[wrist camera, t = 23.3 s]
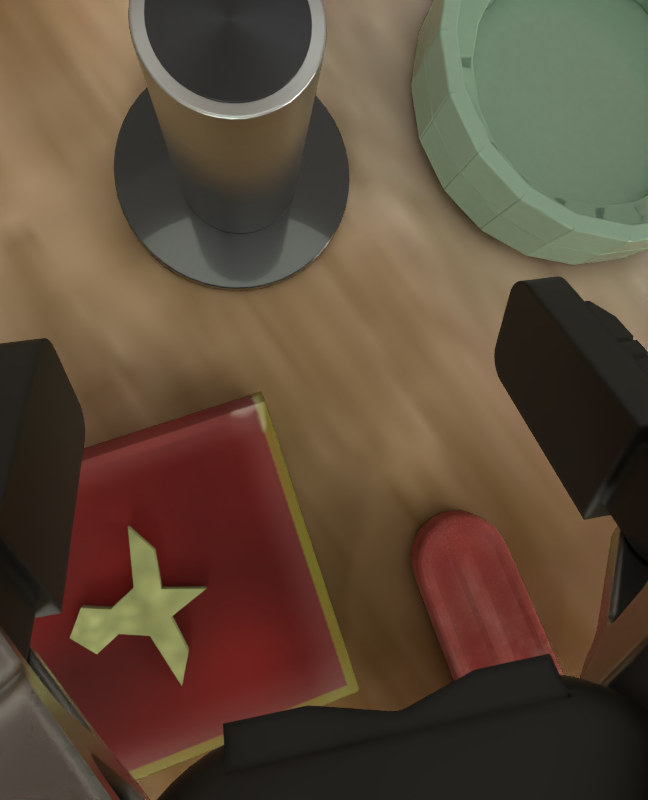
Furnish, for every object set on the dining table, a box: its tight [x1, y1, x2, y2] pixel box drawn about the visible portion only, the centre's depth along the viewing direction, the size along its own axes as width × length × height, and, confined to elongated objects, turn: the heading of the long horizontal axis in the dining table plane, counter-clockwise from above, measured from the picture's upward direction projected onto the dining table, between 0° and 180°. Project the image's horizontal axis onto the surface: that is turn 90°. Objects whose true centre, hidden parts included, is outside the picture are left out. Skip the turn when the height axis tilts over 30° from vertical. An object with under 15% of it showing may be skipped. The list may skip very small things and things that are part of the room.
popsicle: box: [411, 510, 563, 681], centre depth 26 cm, size 4×2×15 cm
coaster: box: [114, 88, 349, 291], centre depth 25 cm, size 10×10×1 cm
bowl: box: [411, 0, 648, 265], centre depth 25 cm, size 15×15×4 cm
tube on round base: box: [128, 0, 327, 233], centre depth 19 cm, size 11×5×10 cm, turn 8°
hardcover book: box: [30, 392, 360, 780], centre depth 22 cm, size 12×21×4 cm, turn 108°
